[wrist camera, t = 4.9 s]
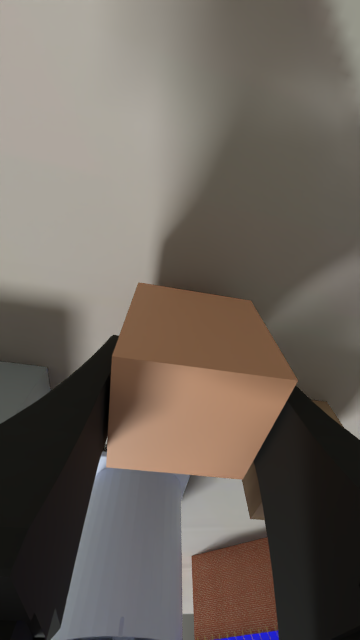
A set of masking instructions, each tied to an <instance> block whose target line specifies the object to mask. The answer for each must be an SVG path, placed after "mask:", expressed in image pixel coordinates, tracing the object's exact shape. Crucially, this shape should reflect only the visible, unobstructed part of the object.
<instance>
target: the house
mask: <svg viewBox="0 0 360 640" xmlns="http://www.w3.org/2000/svg"><path fill="white" fill-rule="evenodd" d="M192 579H193V605H194V631H195V640H279V635H278V623H277V613H276V603H275V594H274V584H273V575H272V567H271V560H270V552H269V545H268V537H266V538H262V539H258V540H254V541H250V542H246V543H242V544H238V545H234V546H230V547H226V548H222V549H218V550H214V551H210V552H206V553H202V554H198V555H194V556H192Z"/></svg>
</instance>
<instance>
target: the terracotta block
mask: <svg viewBox="0 0 360 640" xmlns="http://www.w3.org/2000/svg"><path fill="white" fill-rule="evenodd" d="M297 382H298V380H297V378H296V376H295V375H294V373H293V371H292V370H291V368H290V366H289V364H288V363H287V361H286V359H285V358H284V356H283V354H282V353H281V351H280V349H279V347H278V346H277V344H276V342H275V341H274V339H273V337H272V336H271V334H270V332H269V330H268V329H267V327H266V325H265V324H264V322H263V320H262V319H261V317H260V315H259V313H258V312H257V310H256V308H255V307H254V305H253V303H252V302H251V301H250V300H244V299H238V298H232V297H226V296H219V295H213V294H207V293H201V292H195V291H188V290H182V289H176V288H170V287H164V286H158V285H151V284H145V283H139V282H138V285H137V288H136V291H135V294H134V296H133V299H132V302H131V305H130V307H129V310H128V313H127V316H126V319H125V321H124V324H123V327H122V330H121V332H120V335H119V338H118V341H117V344H116V346H115V349H114V352H113V355H112V364H111V383H110V402H109V421H108V440H107V459H106V467H107V468H119V469H130V470H141V471H153V472H164V473H175V474H186V475H198V476H209V477H220V478H231V479H243V478H244V476H245V475H246V473H247V471H248V469H249V468H250V466H251V464H252V462H253V460H254V459H255V457H256V455H257V453H258V451H259V450H260V448H261V446H262V444H263V443H264V441H265V439H266V437H267V435H268V434H269V432H270V430H271V428H272V426H273V425H274V423H275V421H276V419H277V418H278V416H279V414H280V412H281V410H282V409H283V407H284V405H285V403H286V401H287V400H288V398H289V396H290V394H291V393H292V391H293V389H294V387H295V385H296V384H297Z"/></svg>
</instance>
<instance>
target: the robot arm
mask: <svg viewBox="0 0 360 640" xmlns="http://www.w3.org/2000/svg"><path fill="white" fill-rule="evenodd" d="M118 338H119V336H117V335H113V336H111V337H110V338H109V339H108V340H107V342H106V343H105V344H104V345H103V346H102V347H101V348H100V349H99V350H98V351H97V352H96V353H95V354H94V355H93V356H92V357H91V358H90V359H89V360H88V361H86V362H85V363H84V364H83V365H82V366H81V367H80V368H79V369H78V370H76V371H75V372H74V373H73V374H72V375H70V376H69V377H68V378H67V379H66V380H64V381H63V382H62V383H61V384H59V385H58V386H57V387H55V388H54V389H53V390H51V391H50V392H49V393H47V394H46V395H44V396H43V397H42V398H40V399H39V400H37V401H36V402H34V403H33V404H31V405H30V406H28V407H26V408H25V409H23V410H22V411H20V412H19V413H17V414H16V415H14V416H12V417H11V418H9V419H7V420H6V421H4V422H2V423H1V424H0V640H182V552H181V500H182V497H183V494H184V492H185V489H186V486H187V483H188V480H189V478H190V475H186V474H175V473H164V472H153V471H141V470H130V469H119V468H107V467H106V459H107V452H105V451H103V448H104V445H105V442H106V439H107V436H108V421H109V402H110V383H111V364H112V355H113V352H114V349H115V346H116V344H117V341H118ZM253 462H254V465H255V469H256V474H257V478H258V483H259V489H260V494H261V500H262V505H263V511H264V518H265V524H266V531H267V537H268V545H269V552H270V560H271V567H272V575H273V584H274V594H275V603H276V613H277V623H278V635H279V640H360V440H359V439H358V438H357V437H355V436H354V435H353V434H351V433H350V432H349V431H347V430H346V429H345V428H344V427H342V426H341V425H340V424H338V423H337V422H336V421H335V420H334V419H332V418H331V417H330V416H329V415H328V414H326V413H325V412H324V411H323V410H322V409H321V408H320V407H318V406H317V405H316V404H315V403H314V402H313V401H312V400H311V399H310V398H308V397H307V396H306V395H305V394H304V393H303V392H302V391H301V390H300V389H299V388H298V387H297V386H296V385H295V387H294V389H293V391H292V393H291V394H290V396H289V398H288V400H287V401H286V403H285V405H284V407H283V409H282V410H281V412H280V414H279V416H278V418H277V419H276V421H275V423H274V425H273V426H272V428H271V430H270V432H269V434H268V435H267V437H266V439H265V441H264V443H263V444H262V446H261V448H260V450H259V451H258V453H257V455H256V457H255V459H254V460H253Z"/></svg>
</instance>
